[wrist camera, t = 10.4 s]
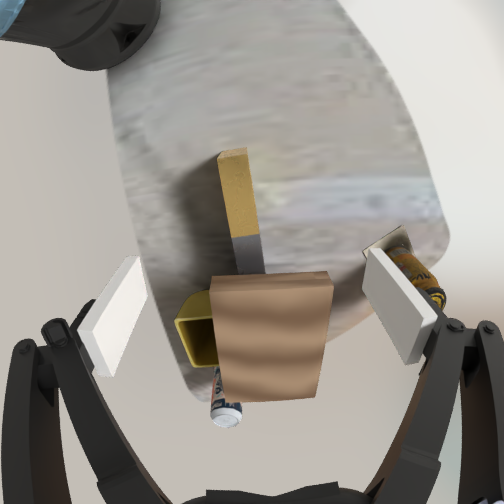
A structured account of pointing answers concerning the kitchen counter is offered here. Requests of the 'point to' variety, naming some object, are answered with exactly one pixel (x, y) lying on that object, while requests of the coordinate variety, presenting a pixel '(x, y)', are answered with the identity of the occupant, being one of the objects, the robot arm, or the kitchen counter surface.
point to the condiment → (409, 264)
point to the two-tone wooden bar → (241, 211)
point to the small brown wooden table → (270, 333)
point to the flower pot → (198, 330)
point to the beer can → (223, 405)
